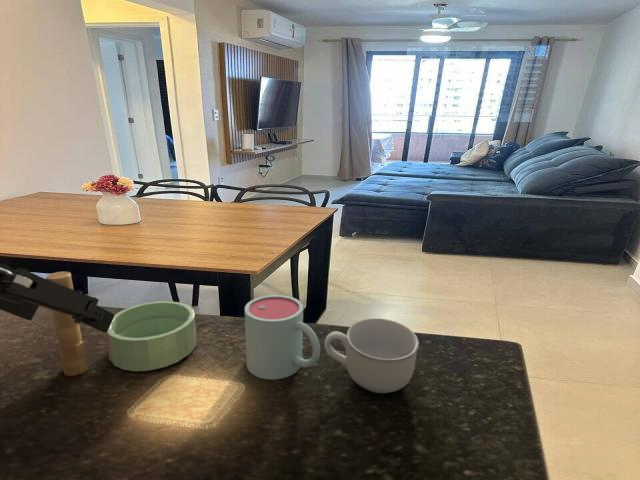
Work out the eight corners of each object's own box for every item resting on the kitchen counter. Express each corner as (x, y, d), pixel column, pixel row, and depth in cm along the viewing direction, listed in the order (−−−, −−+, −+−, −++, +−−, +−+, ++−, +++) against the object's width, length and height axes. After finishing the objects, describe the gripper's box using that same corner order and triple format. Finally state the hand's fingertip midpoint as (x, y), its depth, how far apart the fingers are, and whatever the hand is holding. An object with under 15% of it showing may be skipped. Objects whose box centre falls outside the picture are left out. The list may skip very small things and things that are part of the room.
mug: (234, 364, 62) (232, 308, 59) (273, 340, 69) (273, 290, 67) (298, 400, 54) (299, 338, 52) (335, 369, 62) (338, 314, 59)
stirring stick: (57, 374, 59) (38, 277, 54) (73, 362, 61) (57, 270, 57) (77, 377, 58) (60, 280, 53) (92, 366, 61) (77, 272, 56)
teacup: (417, 368, 63) (421, 325, 60) (409, 413, 53) (415, 362, 50) (335, 351, 67) (337, 310, 65) (315, 389, 57) (316, 342, 55)
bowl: (92, 358, 63) (86, 325, 61) (159, 323, 74) (156, 295, 73) (148, 384, 57) (144, 349, 55) (212, 342, 68) (211, 312, 67)
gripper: (-186, 273, 40) (-10, 330, 59) (3, 301, 35) (132, 354, 54) (-134, 214, 44) (17, 285, 62) (44, 232, 39) (152, 303, 57)
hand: (70, 317), depth 58 cm, fingers open, 13 cm apart
